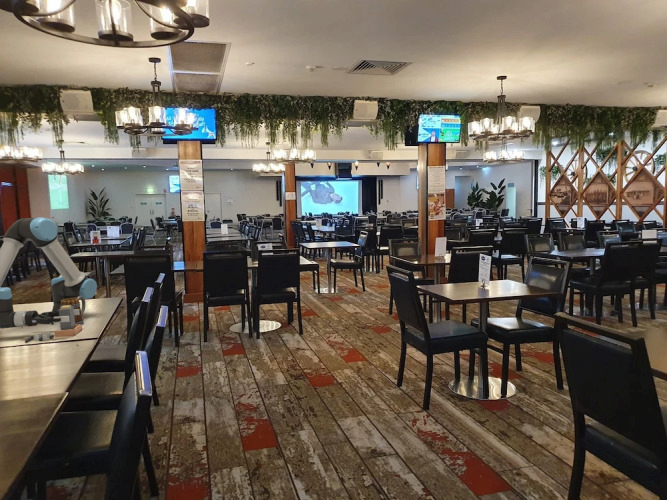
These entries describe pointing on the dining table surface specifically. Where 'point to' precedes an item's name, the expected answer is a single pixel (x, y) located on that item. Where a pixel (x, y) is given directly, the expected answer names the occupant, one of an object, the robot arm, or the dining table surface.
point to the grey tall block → (68, 312)
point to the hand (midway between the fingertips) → (74, 315)
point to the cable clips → (45, 336)
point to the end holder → (69, 331)
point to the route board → (43, 334)
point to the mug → (76, 307)
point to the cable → (39, 338)
